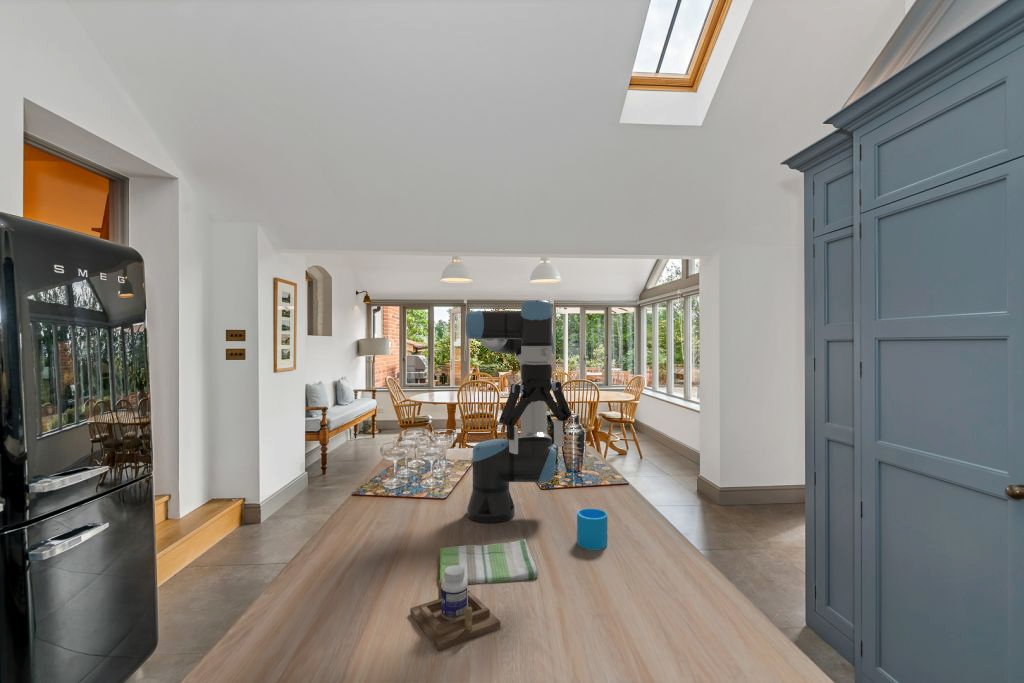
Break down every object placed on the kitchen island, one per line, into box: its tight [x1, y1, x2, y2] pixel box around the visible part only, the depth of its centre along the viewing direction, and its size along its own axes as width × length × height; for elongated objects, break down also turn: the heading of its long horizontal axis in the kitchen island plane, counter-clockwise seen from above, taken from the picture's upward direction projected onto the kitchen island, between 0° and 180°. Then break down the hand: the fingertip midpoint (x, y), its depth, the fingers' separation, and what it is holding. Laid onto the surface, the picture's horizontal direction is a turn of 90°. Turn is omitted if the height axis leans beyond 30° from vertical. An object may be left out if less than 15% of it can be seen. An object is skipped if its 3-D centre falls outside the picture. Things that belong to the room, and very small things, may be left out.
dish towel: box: [439, 538, 539, 585], centre depth 120 cm, size 17×23×4 cm
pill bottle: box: [441, 566, 469, 620], centre depth 97 cm, size 5×5×9 cm
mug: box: [576, 508, 608, 551], centre depth 135 cm, size 12×8×8 cm
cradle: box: [409, 579, 502, 652], centre depth 97 cm, size 14×13×5 cm
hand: (536, 449), depth 120 cm, fingers open, 13 cm apart
